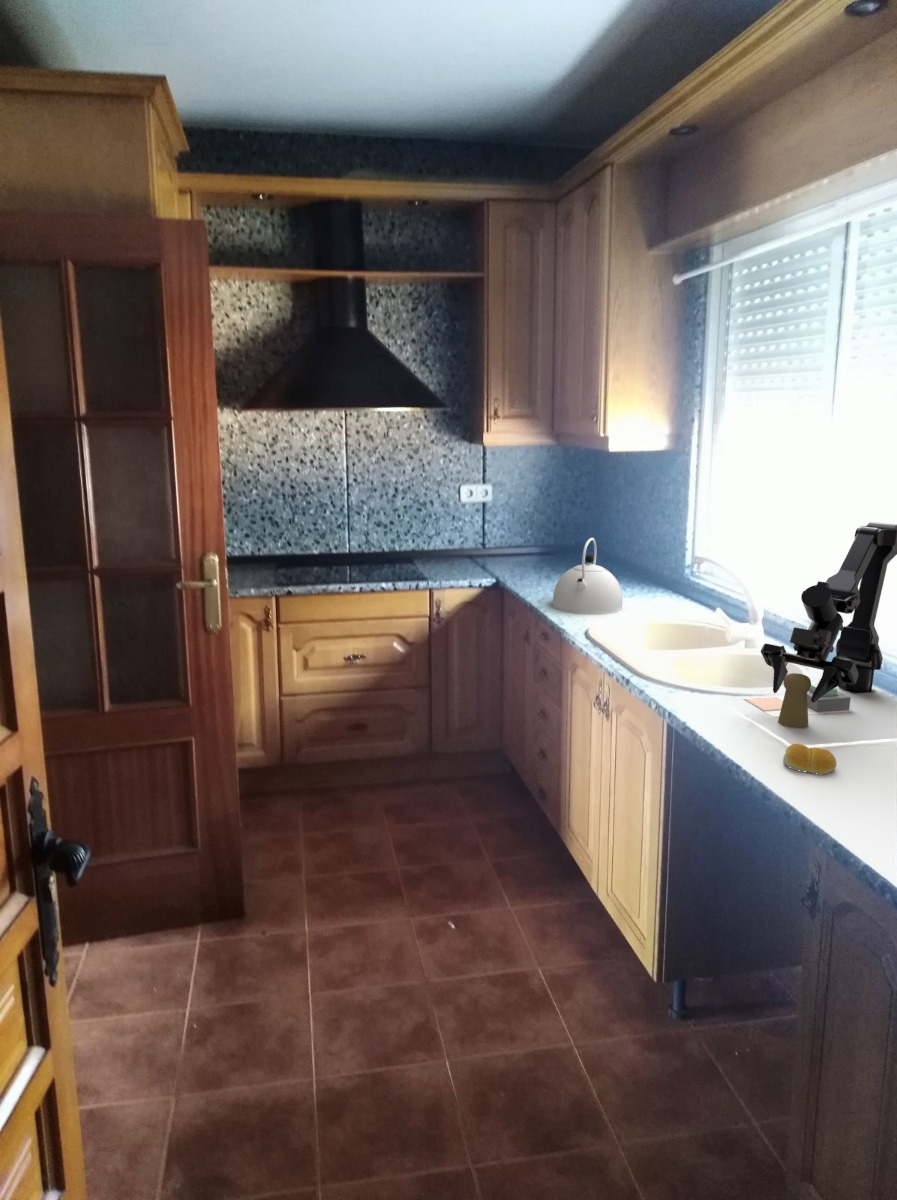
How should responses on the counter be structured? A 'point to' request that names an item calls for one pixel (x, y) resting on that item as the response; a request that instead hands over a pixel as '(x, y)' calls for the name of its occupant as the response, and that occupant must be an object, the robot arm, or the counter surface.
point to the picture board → (819, 707)
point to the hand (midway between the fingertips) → (793, 696)
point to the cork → (795, 701)
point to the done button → (830, 693)
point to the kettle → (588, 588)
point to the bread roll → (809, 759)
